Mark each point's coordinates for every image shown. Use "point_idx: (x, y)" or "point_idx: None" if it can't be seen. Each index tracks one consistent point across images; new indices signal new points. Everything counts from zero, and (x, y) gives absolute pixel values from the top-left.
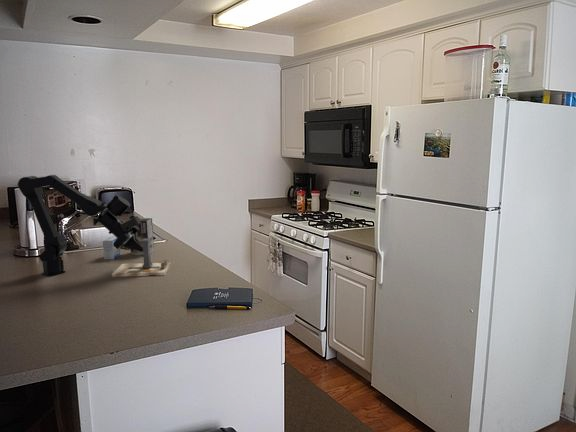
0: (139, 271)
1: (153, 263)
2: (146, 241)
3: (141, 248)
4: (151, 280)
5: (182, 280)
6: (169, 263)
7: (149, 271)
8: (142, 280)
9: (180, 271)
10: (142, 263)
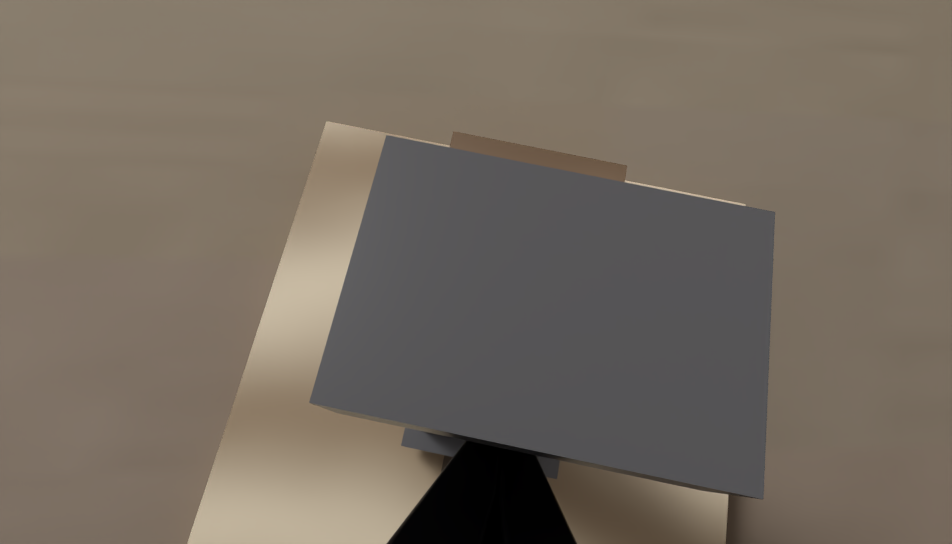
0: (650, 521)
1: (279, 331)
2: (754, 289)
3: (549, 500)
4: (908, 360)
5: (927, 69)
6: (361, 139)
7: None
8: (902, 467)
9: (612, 67)
10: (211, 493)
